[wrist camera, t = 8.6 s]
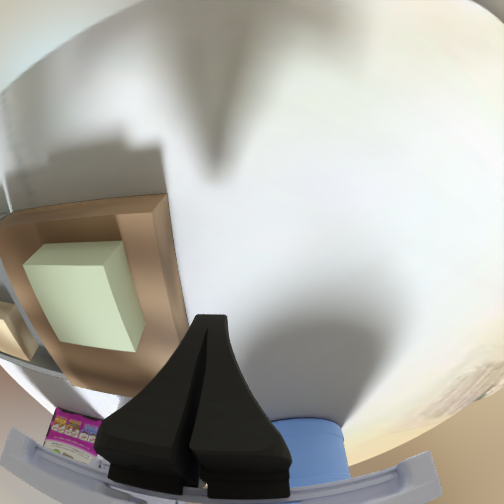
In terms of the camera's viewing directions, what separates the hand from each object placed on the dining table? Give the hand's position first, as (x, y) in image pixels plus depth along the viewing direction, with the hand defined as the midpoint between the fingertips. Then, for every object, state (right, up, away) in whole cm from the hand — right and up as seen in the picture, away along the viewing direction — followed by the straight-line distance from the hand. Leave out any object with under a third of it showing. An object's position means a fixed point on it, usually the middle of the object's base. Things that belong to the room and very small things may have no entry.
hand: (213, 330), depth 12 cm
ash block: (-25, -5, +6) cm, 26 cm away
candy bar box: (-26, -25, +21) cm, 41 cm away
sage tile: (-8, +2, +3) cm, 9 cm away
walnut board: (-10, -1, +8) cm, 13 cm away
